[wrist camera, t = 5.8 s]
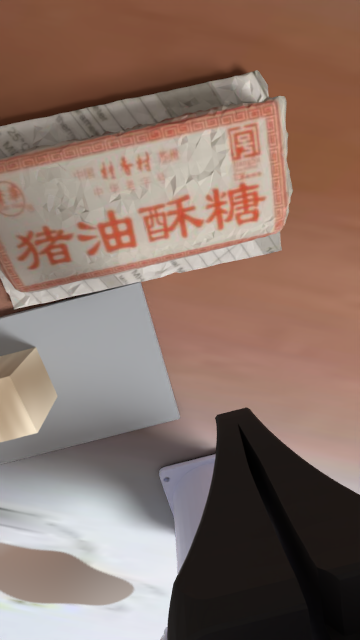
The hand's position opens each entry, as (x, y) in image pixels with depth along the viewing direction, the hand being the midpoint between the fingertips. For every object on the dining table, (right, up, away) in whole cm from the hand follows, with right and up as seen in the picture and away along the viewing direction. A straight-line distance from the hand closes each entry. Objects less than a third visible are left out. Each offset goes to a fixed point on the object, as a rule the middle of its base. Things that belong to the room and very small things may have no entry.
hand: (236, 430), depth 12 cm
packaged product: (-5, +12, +7) cm, 15 cm away
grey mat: (-14, -1, +10) cm, 17 cm away
